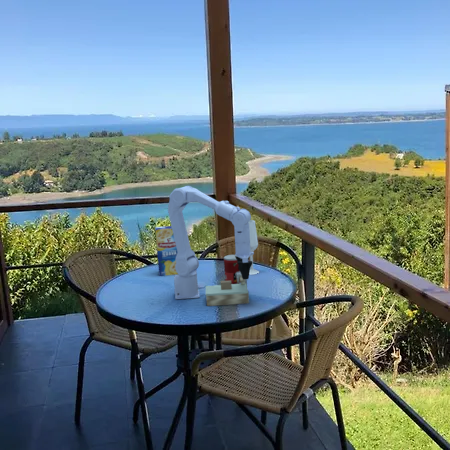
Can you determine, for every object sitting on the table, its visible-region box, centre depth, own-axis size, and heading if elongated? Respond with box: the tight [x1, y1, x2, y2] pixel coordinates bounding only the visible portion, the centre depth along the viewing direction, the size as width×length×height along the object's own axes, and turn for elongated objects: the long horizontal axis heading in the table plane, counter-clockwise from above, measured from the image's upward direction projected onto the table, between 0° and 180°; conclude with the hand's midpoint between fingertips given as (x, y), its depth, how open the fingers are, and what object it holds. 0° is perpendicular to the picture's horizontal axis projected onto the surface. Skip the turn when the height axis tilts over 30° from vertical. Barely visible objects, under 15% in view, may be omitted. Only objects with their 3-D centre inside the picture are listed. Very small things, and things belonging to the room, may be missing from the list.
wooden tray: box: [205, 292, 250, 307], centre depth 197 cm, size 16×10×4 cm, turn 92°
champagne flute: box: [245, 219, 260, 275], centre depth 232 cm, size 7×7×24 cm
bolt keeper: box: [236, 272, 248, 286], centre depth 207 cm, size 4×4×8 cm
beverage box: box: [154, 225, 179, 277], centre depth 239 cm, size 7×11×22 cm, turn 98°
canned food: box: [223, 254, 241, 284], centre depth 222 cm, size 8×8×11 cm
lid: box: [205, 280, 249, 297], centre depth 197 cm, size 16×10×4 cm, turn 92°
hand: (244, 276), depth 196 cm, fingers open, 7 cm apart
